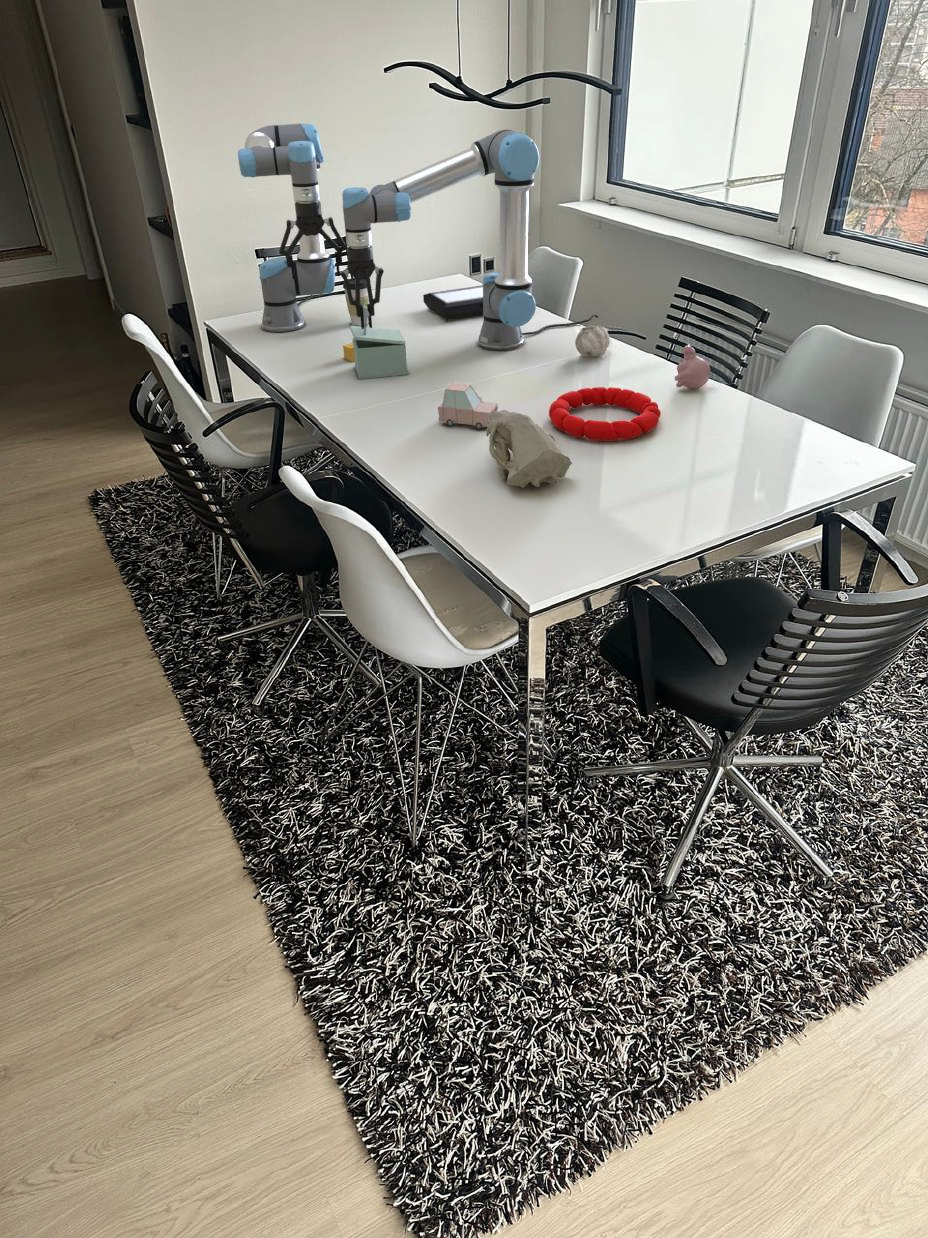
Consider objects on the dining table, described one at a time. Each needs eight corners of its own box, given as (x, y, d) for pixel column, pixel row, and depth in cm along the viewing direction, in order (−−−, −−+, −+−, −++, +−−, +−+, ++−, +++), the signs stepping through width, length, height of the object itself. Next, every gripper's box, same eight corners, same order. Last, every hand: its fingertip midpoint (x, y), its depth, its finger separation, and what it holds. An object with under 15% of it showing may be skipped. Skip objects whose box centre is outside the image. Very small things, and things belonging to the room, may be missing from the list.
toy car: (488, 432, 240) (488, 396, 234) (436, 426, 244) (434, 390, 239) (499, 419, 247) (499, 384, 241) (448, 413, 252) (447, 379, 246)
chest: (359, 379, 278) (356, 349, 272) (355, 367, 287) (352, 337, 282) (407, 374, 280) (405, 344, 275) (402, 362, 290) (400, 333, 284)
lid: (354, 339, 271) (356, 312, 266) (350, 328, 280) (352, 302, 276) (405, 344, 275) (408, 318, 270) (399, 333, 284) (402, 307, 280)
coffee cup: (372, 326, 323) (368, 283, 314) (345, 327, 323) (340, 284, 315) (374, 318, 331) (371, 276, 322) (348, 319, 331) (344, 277, 323)
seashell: (565, 355, 290) (566, 324, 284) (602, 347, 296) (604, 317, 290) (583, 364, 283) (584, 332, 277) (621, 355, 288) (623, 324, 283)
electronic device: (443, 305, 321) (423, 292, 336) (444, 322, 324) (424, 309, 339) (522, 293, 331) (499, 281, 346) (522, 310, 334) (499, 297, 350)
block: (351, 361, 292) (350, 348, 289) (344, 358, 295) (342, 345, 292) (362, 358, 294) (361, 345, 292) (355, 355, 297) (354, 342, 294)
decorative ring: (589, 435, 224) (684, 402, 234) (527, 398, 247) (617, 369, 256) (589, 461, 229) (683, 427, 238) (529, 422, 251) (617, 393, 260)
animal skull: (496, 517, 219) (521, 479, 201) (463, 429, 225) (484, 384, 207) (557, 503, 225) (586, 465, 206) (523, 417, 231) (549, 373, 212)
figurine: (665, 387, 264) (669, 347, 257) (693, 380, 268) (698, 340, 261) (686, 396, 257) (690, 355, 250) (714, 388, 262) (720, 348, 255)
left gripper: (264, 205, 256) (275, 282, 268) (350, 200, 259) (357, 276, 271) (264, 201, 262) (275, 276, 274) (349, 196, 265) (356, 270, 277)
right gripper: (335, 250, 258) (344, 332, 271) (386, 246, 260) (391, 328, 273) (333, 245, 264) (341, 325, 277) (382, 241, 266) (388, 321, 279)
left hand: (316, 276), depth 273 cm, fingers open, 13 cm apart
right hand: (366, 326), depth 275 cm, fingers closed on lid, 2 cm apart
